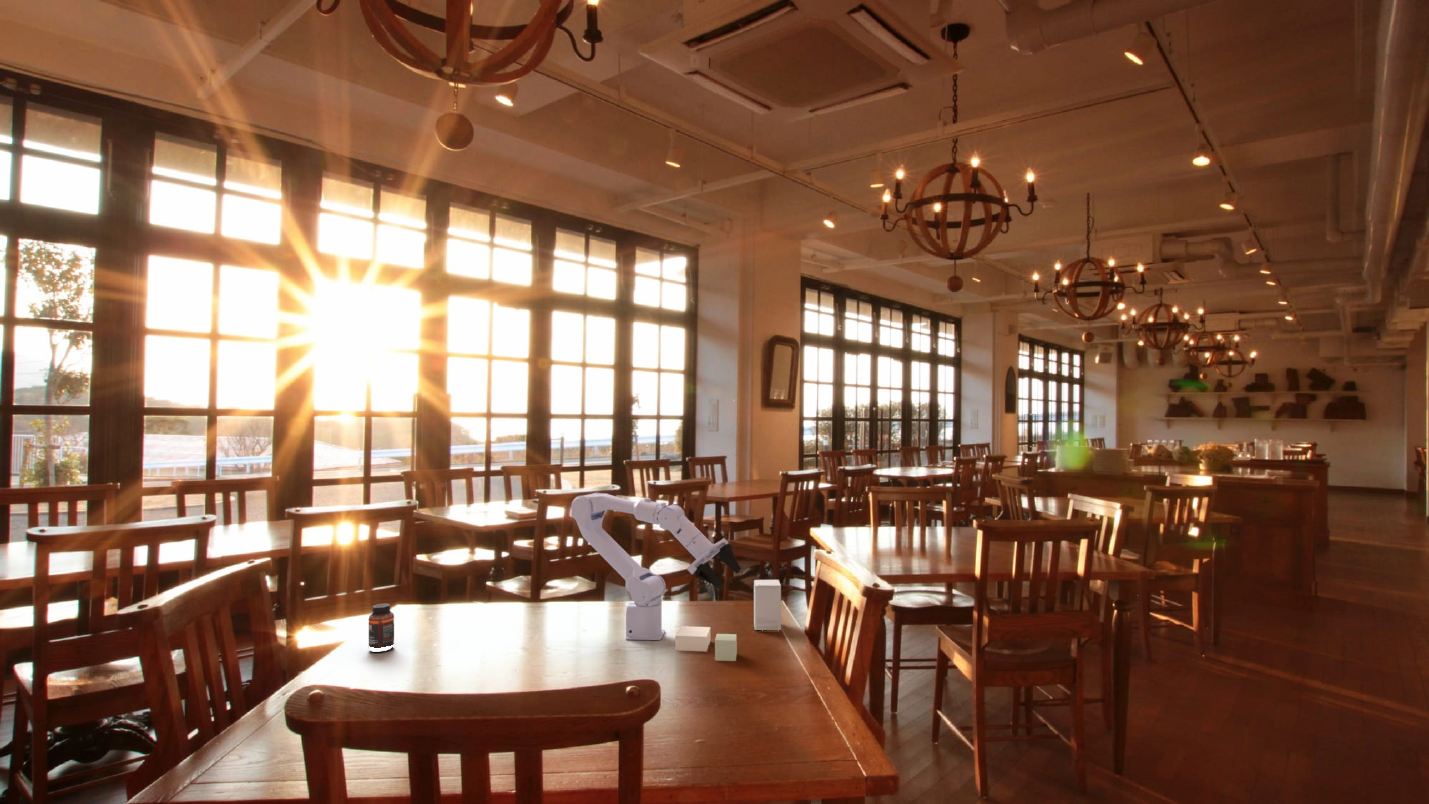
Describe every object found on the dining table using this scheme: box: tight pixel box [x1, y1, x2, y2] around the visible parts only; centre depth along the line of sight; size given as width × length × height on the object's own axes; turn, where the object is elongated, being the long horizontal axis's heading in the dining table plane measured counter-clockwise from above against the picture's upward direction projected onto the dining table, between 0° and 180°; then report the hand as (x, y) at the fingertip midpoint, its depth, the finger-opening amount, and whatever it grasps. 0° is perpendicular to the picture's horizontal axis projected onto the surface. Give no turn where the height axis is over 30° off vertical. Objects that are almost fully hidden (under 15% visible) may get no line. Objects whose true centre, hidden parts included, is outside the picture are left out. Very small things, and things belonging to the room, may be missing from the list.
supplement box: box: [753, 579, 782, 632], centre depth 200 cm, size 7×7×13 cm
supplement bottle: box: [368, 603, 395, 648], centre depth 182 cm, size 6×6×11 cm
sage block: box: [714, 633, 738, 662], centre depth 176 cm, size 5×5×5 cm
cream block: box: [675, 625, 711, 652], centre depth 185 cm, size 8×8×4 cm
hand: (730, 578), depth 184 cm, fingers open, 7 cm apart
